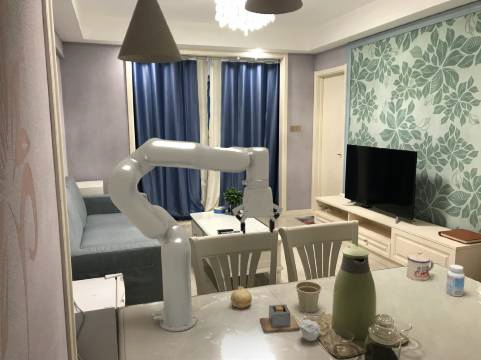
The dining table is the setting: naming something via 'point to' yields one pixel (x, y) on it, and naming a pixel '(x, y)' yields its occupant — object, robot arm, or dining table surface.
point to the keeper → (268, 328)
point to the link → (279, 316)
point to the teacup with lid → (419, 266)
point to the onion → (241, 298)
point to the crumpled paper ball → (309, 330)
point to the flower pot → (308, 295)
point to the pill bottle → (455, 280)
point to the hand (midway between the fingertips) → (257, 232)
